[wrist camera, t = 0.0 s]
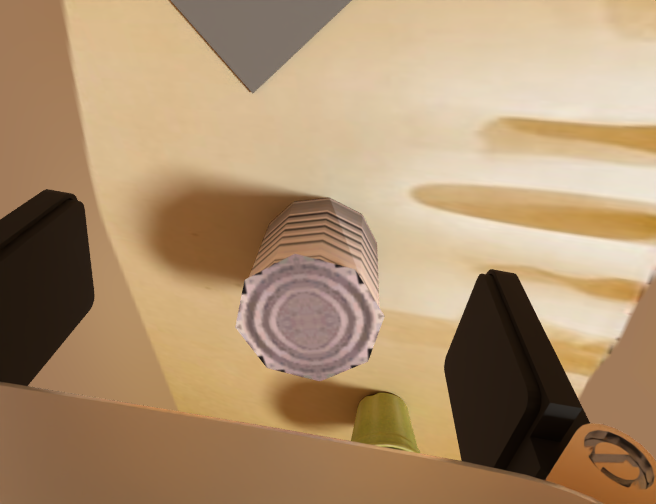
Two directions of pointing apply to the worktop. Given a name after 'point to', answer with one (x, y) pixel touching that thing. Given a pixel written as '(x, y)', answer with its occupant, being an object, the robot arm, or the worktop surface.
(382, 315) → the can
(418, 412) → the worktop surface
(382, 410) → the plant pot
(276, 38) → the mat
